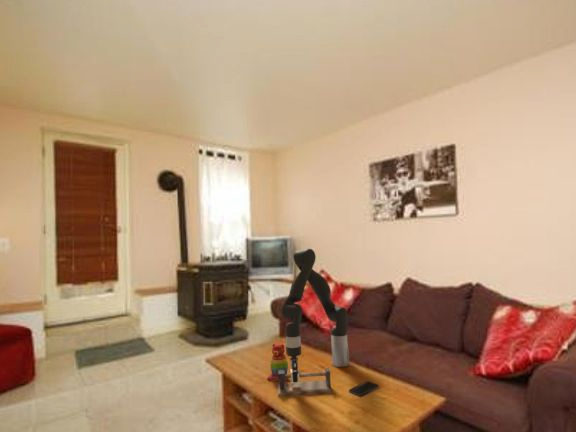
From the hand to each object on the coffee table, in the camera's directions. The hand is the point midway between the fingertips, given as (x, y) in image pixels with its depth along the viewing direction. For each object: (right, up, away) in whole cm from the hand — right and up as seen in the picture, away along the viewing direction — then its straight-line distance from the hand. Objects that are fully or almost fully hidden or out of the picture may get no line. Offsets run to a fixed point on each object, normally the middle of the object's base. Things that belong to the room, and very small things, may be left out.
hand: (294, 379), depth 173 cm
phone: (+34, -4, -3) cm, 34 cm away
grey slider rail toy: (+5, -5, 0) cm, 7 cm away
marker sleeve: (0, -1, 0) cm, 1 cm away
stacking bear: (-8, -7, +15) cm, 19 cm away
